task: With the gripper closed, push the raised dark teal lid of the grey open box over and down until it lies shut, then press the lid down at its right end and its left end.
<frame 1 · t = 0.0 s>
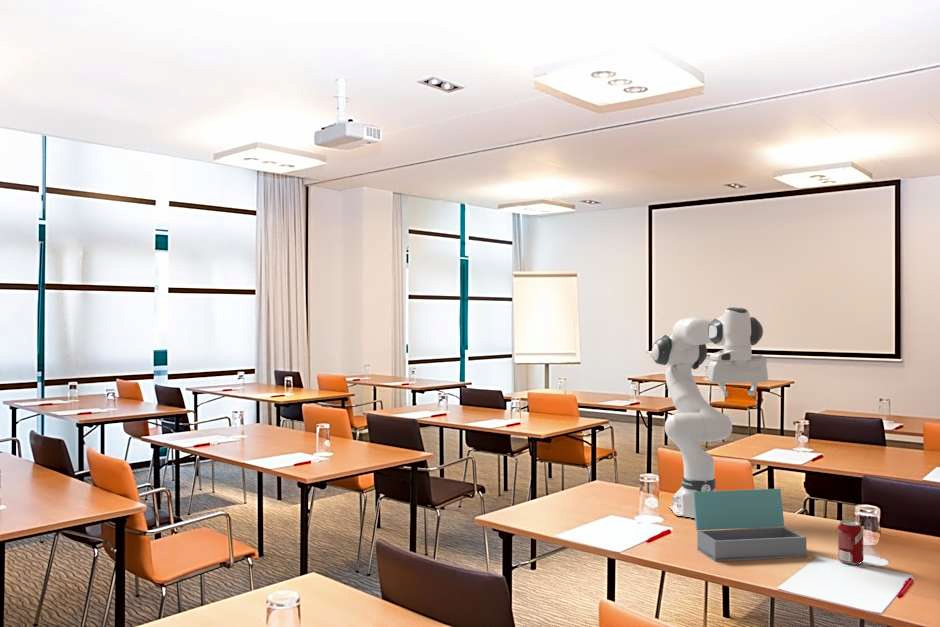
hand: (738, 396, 249), 48 cm above the table, tool pointing down, fingers open, 8 cm apart
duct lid: (738, 509, 239), point 12 cm above the table, hinge at 100.0°
soda can: (850, 563, 222), on the table
grey open box: (751, 553, 231), on the table
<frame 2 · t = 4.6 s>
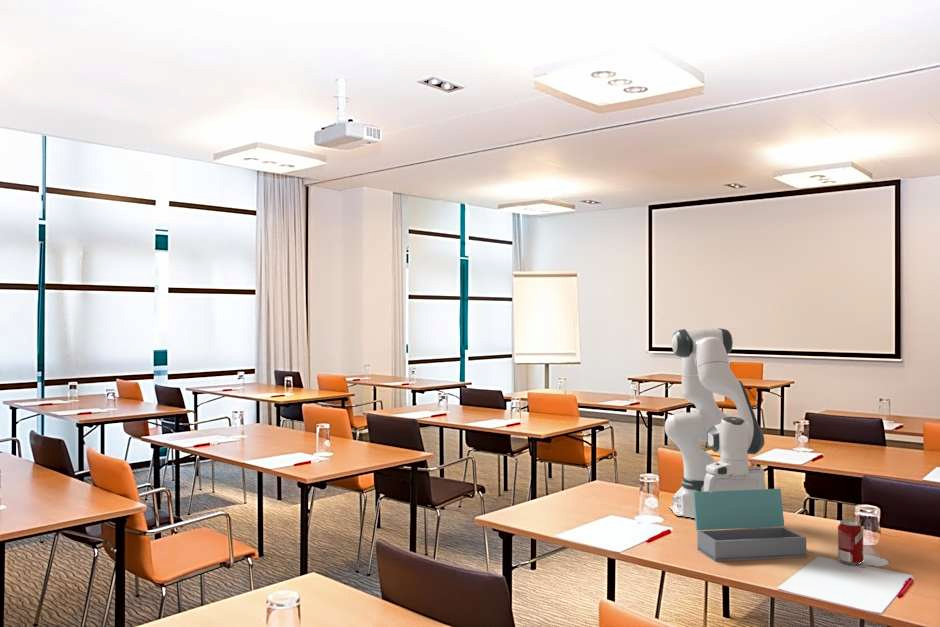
hand: (735, 509, 241), 11 cm above the table, tool pointing down, fingers closed, pressing on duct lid
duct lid: (738, 509, 239), point 12 cm above the table, hinge at 99.5°, touching gripper
everything else where it was.
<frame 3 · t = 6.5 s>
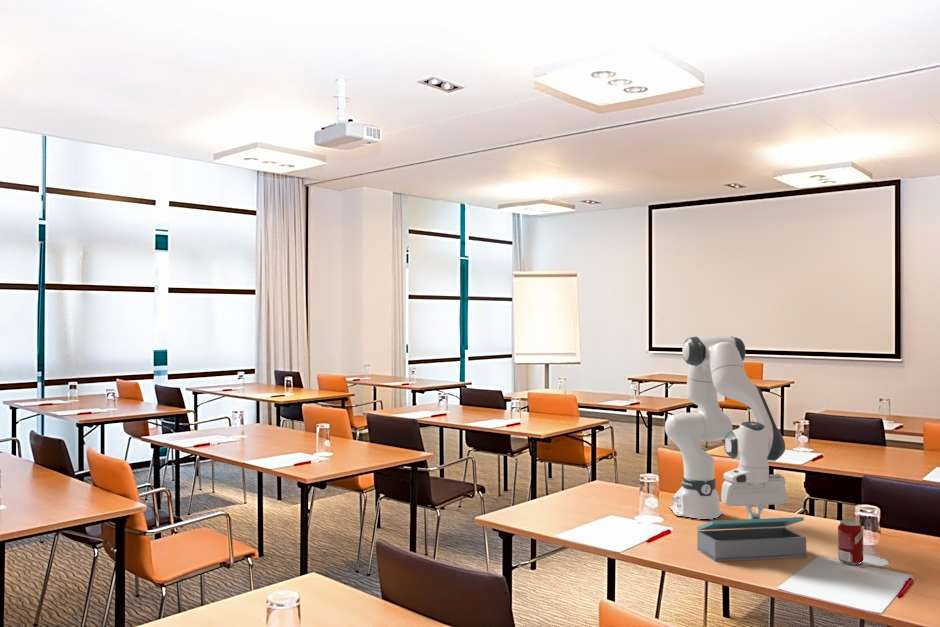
hand: (754, 519, 229), 11 cm above the table, tool pointing down, fingers closed, pressing on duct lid
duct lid: (749, 523, 232), point 9 cm above the table, hinge at 23.7°, touching gripper
everything else where it was.
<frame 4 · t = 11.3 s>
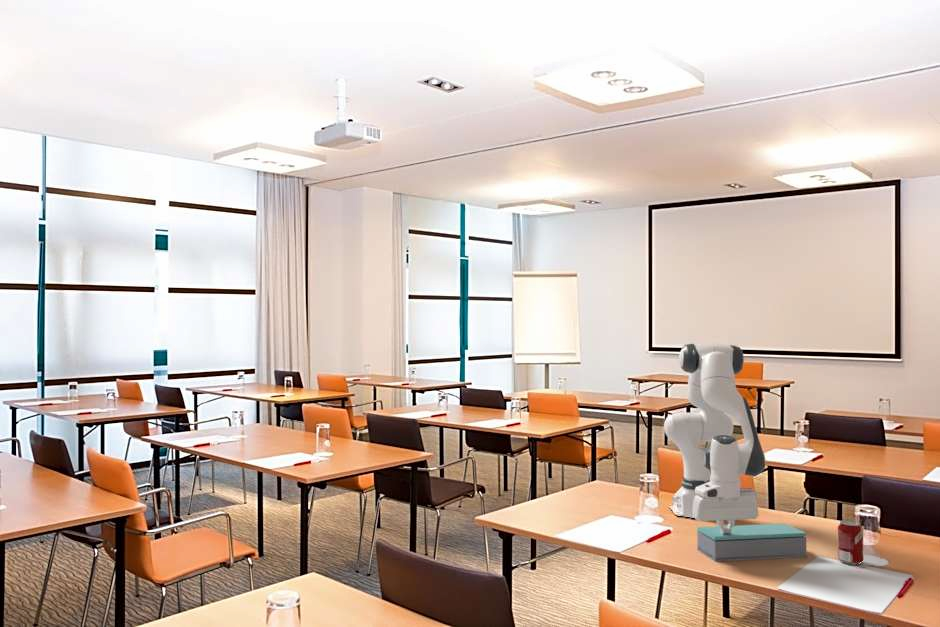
hand: (725, 534, 227), 7 cm above the table, tool pointing down, fingers closed, pressing on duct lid
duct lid: (750, 531, 231), point 7 cm above the table, hinge at 0.8°, touching gripper
everything else where it was.
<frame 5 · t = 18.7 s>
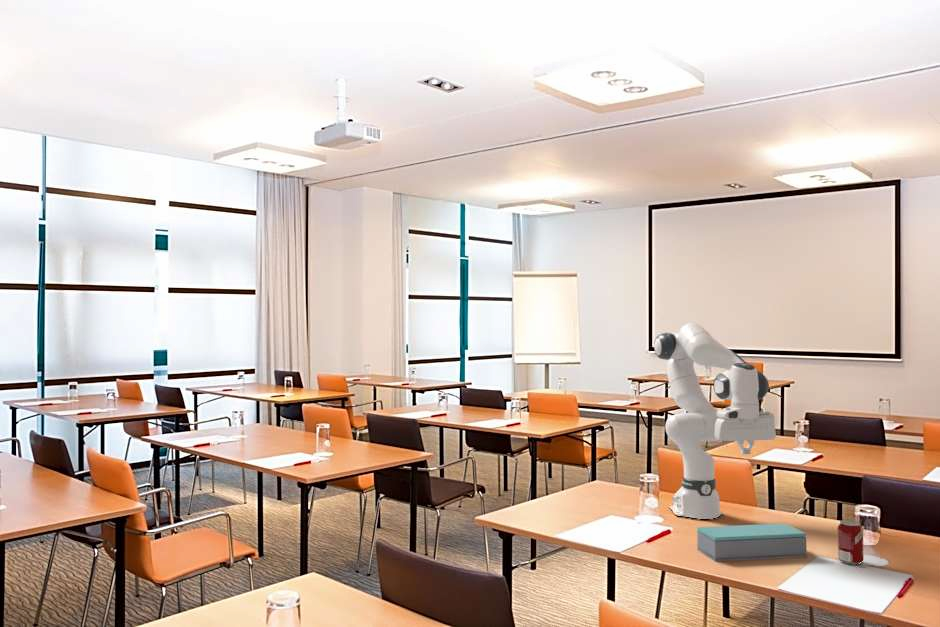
hand: (745, 453, 245), 29 cm above the table, tool pointing down, fingers closed
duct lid: (750, 531, 231), point 7 cm above the table, hinge at 0.2°
everything else where it was.
at the end: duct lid at +0° (first picture: +100°); soda can moved 0.2 cm from its start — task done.
